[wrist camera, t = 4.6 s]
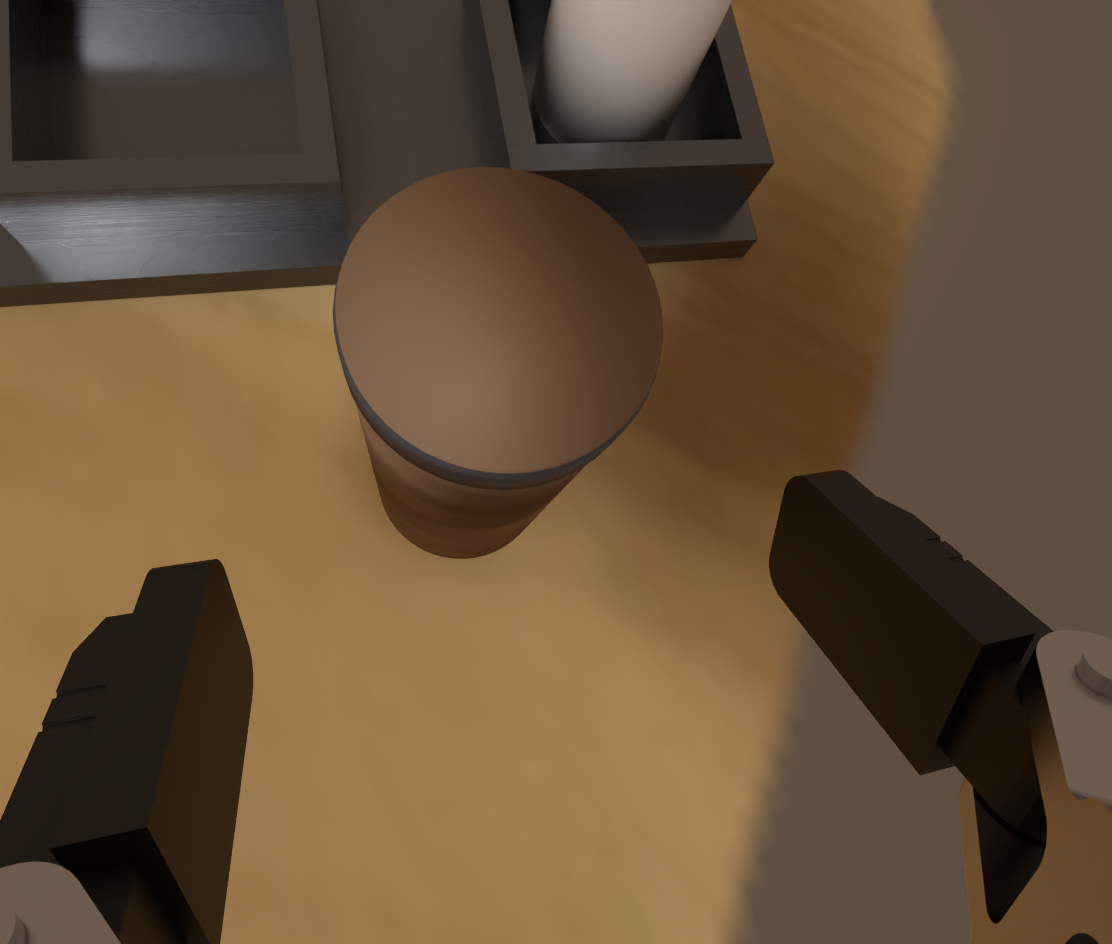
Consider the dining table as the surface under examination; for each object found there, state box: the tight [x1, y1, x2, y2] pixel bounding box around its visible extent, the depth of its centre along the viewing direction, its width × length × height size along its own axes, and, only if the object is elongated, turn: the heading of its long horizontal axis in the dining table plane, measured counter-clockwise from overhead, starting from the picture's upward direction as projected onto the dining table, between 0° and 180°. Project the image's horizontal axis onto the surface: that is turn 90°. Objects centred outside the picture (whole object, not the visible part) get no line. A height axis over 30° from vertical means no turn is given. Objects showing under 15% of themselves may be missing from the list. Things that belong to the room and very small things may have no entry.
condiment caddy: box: [0, 0, 774, 307], centre depth 19 cm, size 22×10×3 cm, turn 101°
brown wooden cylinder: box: [333, 167, 663, 559], centre depth 14 cm, size 4×4×10 cm
